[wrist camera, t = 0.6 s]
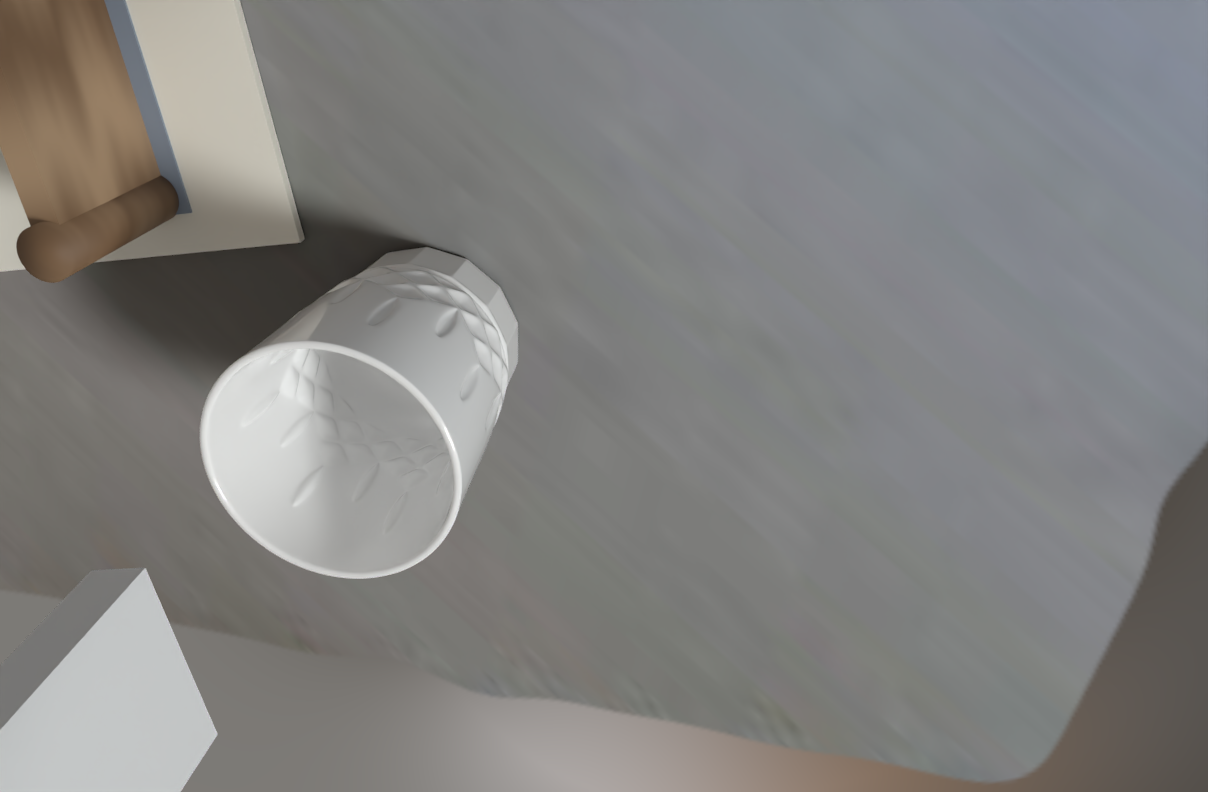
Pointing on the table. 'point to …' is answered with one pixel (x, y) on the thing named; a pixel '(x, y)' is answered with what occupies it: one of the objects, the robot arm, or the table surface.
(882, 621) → the table surface
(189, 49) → the board
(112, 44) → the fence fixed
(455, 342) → the white cup
